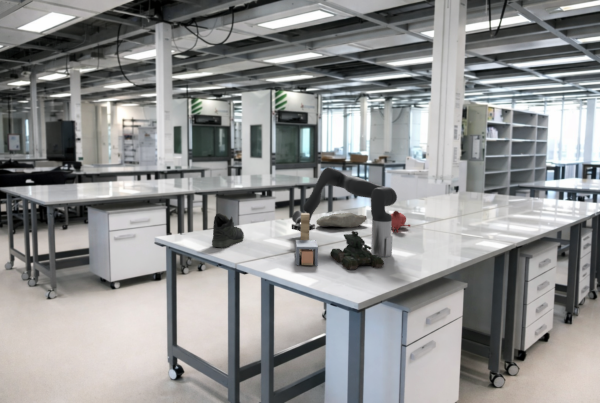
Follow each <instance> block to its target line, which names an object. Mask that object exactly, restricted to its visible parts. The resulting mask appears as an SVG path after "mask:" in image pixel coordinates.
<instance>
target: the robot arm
mask: <svg viewBox="0 0 600 403" xmlns="http://www.w3.org/2000/svg"><path fill="white" fill-rule="evenodd" d="M318 177H319V178H318V179H317V181H316V184H315V185H314V188H313V189H312V192H311V193H310V195H309V197H308V198H307V199H306V201H305V203H304V204H303V205H302V210H303V211H301V210H295V212H294V213H293V214H292V217H291V219H292V221H293V223H292V224H291V229H292V230H295V231H299V232H300V233H301V213H309V214H310V218H309V232H310V231H312V230H315V229H316V224H315V223H313V224H311V223H310V222H311V219H312V216H313V214H314V212H315V211H316V210H317V208H318V207H319V205H320V203H321V202H322V201H321V200H322V192H323V189H324V187H325V186H326V185H330V186H331V187H332V186H333V187H337V188H341V189H345V191H347V193H350V194H351V195H354V196H357V197H360V198H367V199H370V213H371V216H372V217H371V218H372V220H371V221H372V222H371V242H370V244H371V245H370V247H371V249H370V252H371V254H372V255H377V256H379V257H381V258H387V257H390V256H393V255H392V254H393V236H392V226H391V221H392V216H391V213H388V212H386V207H390V206H392V205H394V204H395V203H396V202H397V198H398V196H397V192H396V191H395V190H394V189H393V188H392V187H390V186H385V185H384V186H383V185H380V184H376V183H373V182H371V181H369V180H367V179H364V178H361V177H359V176H354V175H347V174H346V173H344V172H342V171H341V170H338V169H336V168H333V167H330V166H329V167H328V166H327V167H325V168H324V169H323V170H322V172H321V174H320V175H319V176H318Z"/></svg>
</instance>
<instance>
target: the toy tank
mask: <svg viewBox="0 0 600 403" xmlns="http://www.w3.org/2000/svg"><path fill="white" fill-rule="evenodd" d="M343 237H344V239H345V241H346V243H345V244H346V246H345V248H343V250H342V249H340V248H332V249H331V251H330V257H331V259H333V260H334V261H335V262H337V263H341V265H342V266H343V268H345V269H347V270H349V271H354V270H356V269H358V267H359V266H370V267H372V268H375V269H381V268H383V267H384V265H385V260H384V259H383V257H379V256H377V255H372V254H371V245H370V246H369V245H367V244H365V240H364V239H363V238H362V236H360V235H359V232H358V231H354V230H352V231H351V233H350V234H349V233H348V234H347V233H345V234H343Z"/></svg>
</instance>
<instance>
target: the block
mask: <svg viewBox="0 0 600 403" xmlns="http://www.w3.org/2000/svg"><path fill="white" fill-rule="evenodd" d="M301 262H302V263H313V264H314V260H313V249H301V258H300V263H301Z"/></svg>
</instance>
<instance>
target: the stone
mask: <svg viewBox="0 0 600 403" xmlns="http://www.w3.org/2000/svg"><path fill="white" fill-rule="evenodd" d="M367 219H368V217H367V215H364V214H363V215H362V214H356V213H352V212H344V213H332V214H329V215H325V216H321V217H320V218H318V219H317V220H316V222H315V223H316V225H318V226H320V227H323V228H327V227H340V228H350V229H351V228H354V227H355V228H356V227H359V226H361V225H362V224H363V223H366V221H367Z"/></svg>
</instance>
